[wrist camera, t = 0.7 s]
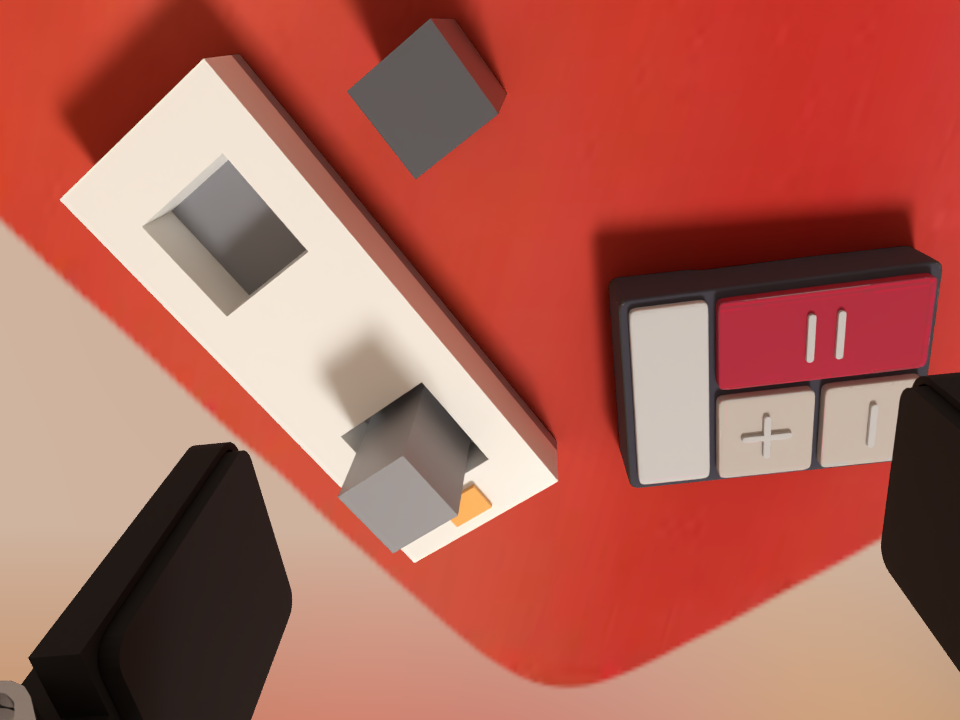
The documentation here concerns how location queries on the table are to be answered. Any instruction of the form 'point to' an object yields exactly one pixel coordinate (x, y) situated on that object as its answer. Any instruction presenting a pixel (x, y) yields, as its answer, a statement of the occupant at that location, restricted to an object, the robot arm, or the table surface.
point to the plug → (429, 94)
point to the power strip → (300, 286)
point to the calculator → (769, 363)
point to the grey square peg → (407, 469)
